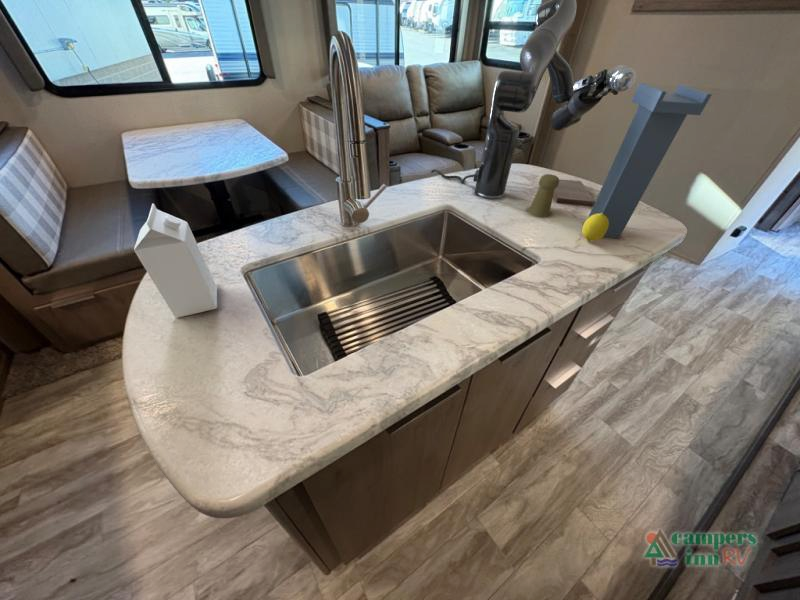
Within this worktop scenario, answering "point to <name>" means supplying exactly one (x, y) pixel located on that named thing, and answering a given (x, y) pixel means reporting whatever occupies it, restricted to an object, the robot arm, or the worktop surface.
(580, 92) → the robot arm
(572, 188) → the cutting board
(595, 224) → the lemon
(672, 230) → the worktop surface
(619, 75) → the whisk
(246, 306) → the worktop surface
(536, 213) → the olive green pawn
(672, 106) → the shelf stand
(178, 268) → the milk carton
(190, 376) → the worktop surface
